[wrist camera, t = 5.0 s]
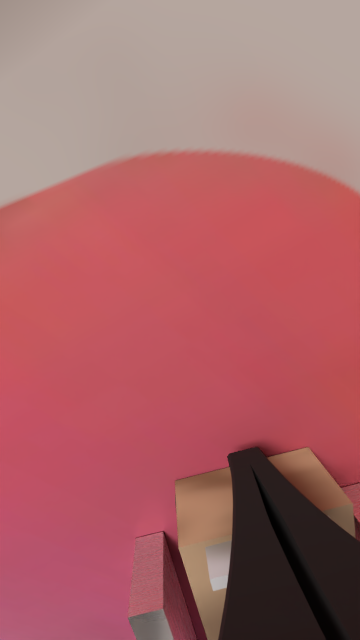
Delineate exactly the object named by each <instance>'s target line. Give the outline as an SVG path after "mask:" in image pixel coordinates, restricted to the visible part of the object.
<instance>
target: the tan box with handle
mask: <svg viewBox="0 0 360 640" xmlns="http://www.w3.org/2000/svg"><path fill="white" fill-rule="evenodd" d="M267 458H268V460H269V461H270V462H271V463H272V464H273V465H274V466H275V467H276V468H277V469H278V470H279V472H280V473H281V474H282V475H283V476H284V477H285V478H286V479H287V480H288V481H289V482H290V483H291V484H292V485H294V486H295V487H296V488H297V489H298V490H299V491H300V492H301V493H302V494H303V495H304V496H305V497H306V498H307V499H308V500H310V501H311V502H312V503H313V504H314V505H315V506H316V507H317V508H319V509H320V510H321V511H322V512H323V513H324V514H326V515H327V516H328V517H329V518H330V519H332V520H333V521H334V522H335V523H337V524H338V525H339V526H340V527H342V528H343V529H344V530H345V531H347V532H348V533H349V534H351V535H352V536H353V537H355V525H354V513H353V503H352V502H351V501H350V499H349V498H348V497H347V495H346V494H345V493H344V492H343V490H342V489H341V488H340V487H339V485H338V484H337V483H336V482H335V480H334V479H333V478H332V477H331V475H330V474H329V473H328V471H327V470H326V469H325V468H324V466H323V465H322V464H321V463H320V461H319V460H318V459H317V458H316V456H315V455H314V454H313V453H312V451H311V450H310V449H309V448H308V447H306V448H302V449H299V450H295V451H291V452H287V453H283V454H279V455H275V456H271V457H267ZM175 491H176V494H175V503H176V513H177V530H178V548H179V551H180V554H181V558H182V561H183V564H184V567H185V570H186V573H187V576H188V580H189V583H190V586H191V589H192V592H193V595H194V599H195V602H196V605H197V608H198V611H199V614H200V617H201V621H202V624H203V627H204V630H205V633H206V636H207V640H218V638H219V632H220V626H221V620H222V614H223V608H224V602H225V596H226V589H227V582H228V573H229V564H230V554H231V542H232V523H233V493H232V477H231V471H230V467H227V468H223V469H219V470H215V471H212V472H208V473H204V474H200V475H196V476H192V477H188V478H184V479H180V480H176V481H175ZM355 538H356V537H355Z"/></svg>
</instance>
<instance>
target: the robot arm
mask: <svg viewBox="0 0 360 640" xmlns="http://www.w3.org/2000/svg"><path fill="white" fill-rule="evenodd" d="M227 458H228V462H229V467H230V471H231V477H232V493H233V523H232V542H231V554H230V564H229V573H228V582H227V589H226V596H225V602H224V608H223V614H222V620H221V626H220V632H219V638H218V640H360V541H359V540H357V539H356V538H355V537H353V536H352V535H351V534H349V533H348V532H347V531H345V530H344V529H343V528H342V527H340V526H339V525H338V524H337V523H335V522H334V521H333V520H332V519H330V518H329V517H328V516H327V515H326V514H324V513H323V512H322V511H321V510H320V509H319V508H317V507H316V506H315V505H314V504H313V503H312V502H311V501H310V500H308V499H307V498H306V497H305V496H304V495H303V494H302V493H301V492H300V491H299V490H298V489H297V488H296V487H295V486H294V485H292V484H291V483H290V482H289V481H288V480H287V479H286V478H285V477H284V476H283V475H282V474H281V473H280V472H279V470H278V469H277V468H276V467H275V466H274V465H273V464H272V463H271V462H270V461H269V460H268V458H267V457H266V456H265V455H264V454H263V453H262V451H261V450H260V449H259V448H258V447H254V448H250V449H246V450H242V451H238V452H234V453H230V454H229V455H228V456H227Z"/></svg>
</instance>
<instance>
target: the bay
mask: <svg viewBox="0 0 360 640" xmlns="http://www.w3.org/2000/svg"><path fill="white" fill-rule="evenodd" d="M341 489H342V490H343V492H344V493H345V494H346V495H347V497H348V498H349V499H350V501H351V502H352V503H353V513H354V525H355V537H356V539H357V540H359V541H360V483H358V484H354V485H350V486H346V487H342V488H341ZM128 619H129V622H130V624H131V627H132V629H133V632H134V634H135V637H136V639H137V640H197V637H196V634H195V631H194V628H193V625H192V622H191V618H190V615H189V612H188V609H187V606H186V602H185V599H184V596H183V593H182V590H181V587H180V583H179V580H178V577H177V574H176V571H175V567H174V564H173V561H172V558H171V555H170V552H169V548H168V545H167V542H166V539H165V536H164V533H163V532H159V533H155V534H151V535H147V536H143V537H139V538H136V542H135V551H134V561H133V571H132V581H131V591H130V600H129V610H128Z"/></svg>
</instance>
